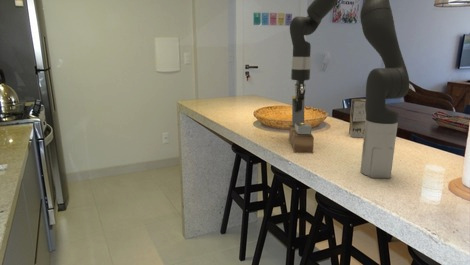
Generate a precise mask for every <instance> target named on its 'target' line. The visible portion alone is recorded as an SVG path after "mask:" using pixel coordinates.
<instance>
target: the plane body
mask: <svg viewBox="0 0 470 265" xmlns="http://www.w3.org/2000/svg"><path fill="white" fill-rule="evenodd" d="M288 136H289V137H288V140H289V142H290V145H291V147H292V150H293V152H294V153H301V154H302V153H303V154H304V153H305V154H306V153H309V154H310V153H311V154H313V153H314V142H315V141H314V139H315V138H314V136H313V134H312V133H311V134H297V133H296V132H295V125H292V124H290V125H289V135H288Z"/></svg>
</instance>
